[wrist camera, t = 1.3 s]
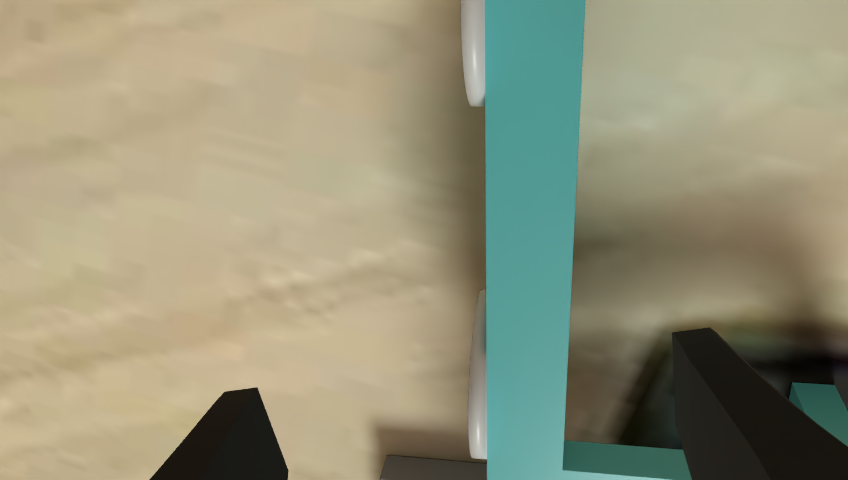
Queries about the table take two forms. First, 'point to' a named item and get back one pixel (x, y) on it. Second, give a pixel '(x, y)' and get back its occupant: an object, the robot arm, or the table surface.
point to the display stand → (431, 469)
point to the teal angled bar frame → (544, 254)
